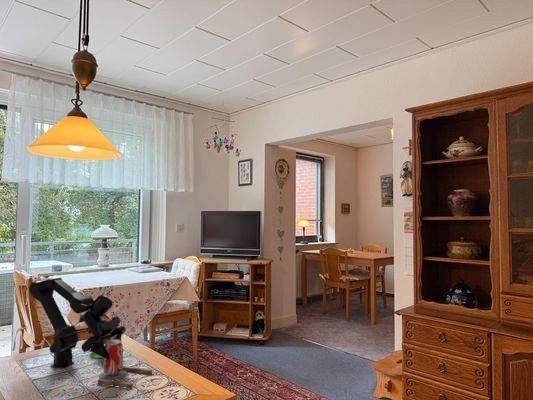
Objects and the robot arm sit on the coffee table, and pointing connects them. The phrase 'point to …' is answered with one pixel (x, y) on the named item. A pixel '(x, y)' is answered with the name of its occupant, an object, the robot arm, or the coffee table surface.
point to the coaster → (112, 377)
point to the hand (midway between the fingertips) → (116, 355)
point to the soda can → (113, 357)
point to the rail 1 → (115, 383)
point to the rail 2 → (137, 370)
